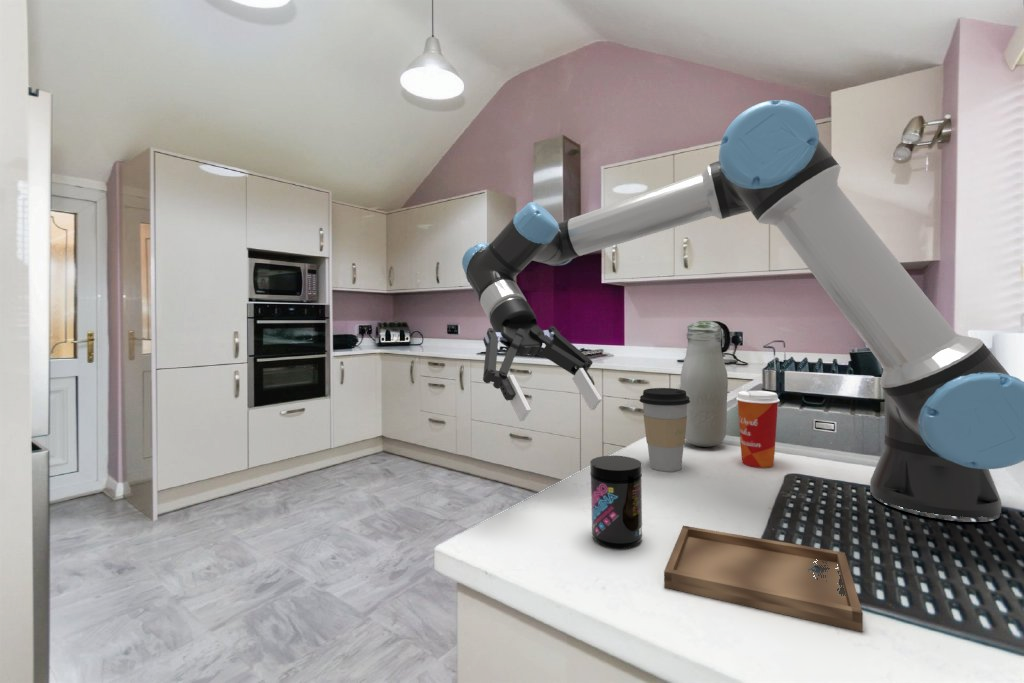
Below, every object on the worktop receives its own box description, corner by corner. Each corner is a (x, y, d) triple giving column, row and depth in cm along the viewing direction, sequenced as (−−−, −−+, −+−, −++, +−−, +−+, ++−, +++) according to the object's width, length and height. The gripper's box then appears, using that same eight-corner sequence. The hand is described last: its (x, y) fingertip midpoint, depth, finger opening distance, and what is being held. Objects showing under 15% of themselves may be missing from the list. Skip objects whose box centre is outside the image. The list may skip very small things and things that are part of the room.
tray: (844, 567, 58) (844, 552, 57) (862, 632, 46) (862, 613, 46) (683, 538, 66) (682, 525, 66) (664, 587, 54) (664, 571, 54)
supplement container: (593, 526, 71) (592, 454, 70) (642, 530, 69) (641, 456, 68) (589, 547, 64) (587, 469, 64) (642, 552, 62) (641, 471, 62)
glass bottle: (681, 450, 108) (680, 322, 106) (680, 438, 117) (679, 321, 116) (730, 453, 105) (730, 321, 103) (725, 441, 114) (725, 320, 113)
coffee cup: (694, 475, 91) (693, 394, 90) (641, 473, 93) (640, 394, 92) (687, 460, 100) (686, 387, 99) (639, 459, 102) (638, 387, 101)
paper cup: (729, 458, 101) (729, 390, 100) (767, 457, 101) (767, 389, 100) (746, 470, 93) (746, 396, 93) (788, 469, 93) (788, 395, 92)
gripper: (556, 324, 96) (611, 414, 84) (437, 329, 83) (482, 435, 71) (573, 296, 91) (634, 386, 79) (449, 296, 78) (500, 404, 66)
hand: (562, 410), depth 75 cm, fingers open, 13 cm apart
